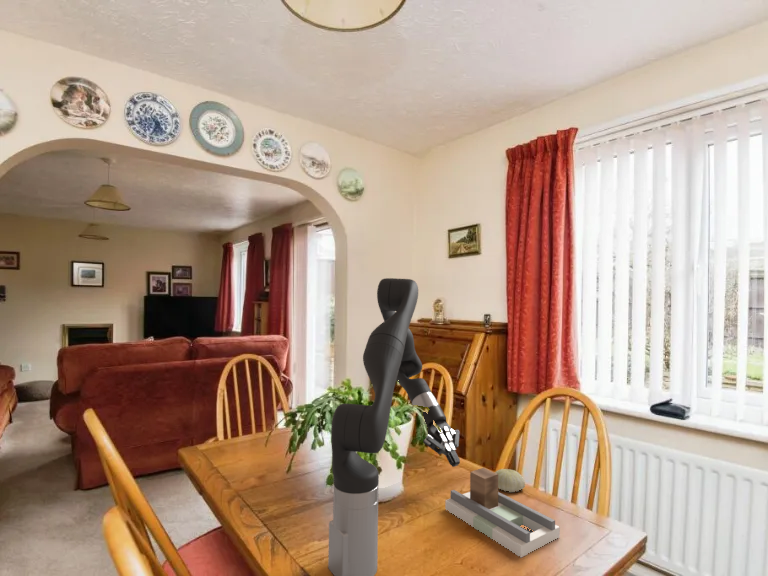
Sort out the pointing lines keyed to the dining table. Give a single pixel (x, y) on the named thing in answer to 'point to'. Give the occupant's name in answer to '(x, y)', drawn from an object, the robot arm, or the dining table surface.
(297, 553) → the dining table surface
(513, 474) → the sea urchin shell
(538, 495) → the dining table surface
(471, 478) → the walnut block
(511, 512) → the lane deck
